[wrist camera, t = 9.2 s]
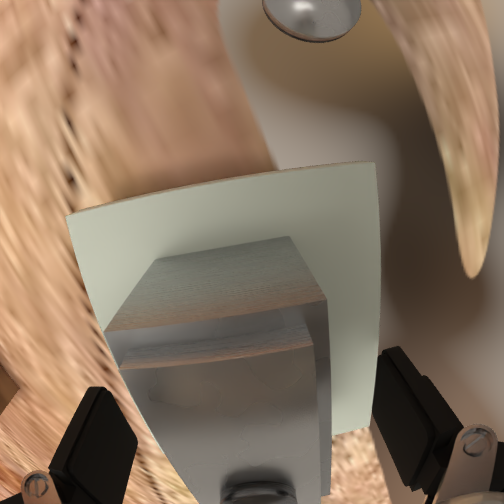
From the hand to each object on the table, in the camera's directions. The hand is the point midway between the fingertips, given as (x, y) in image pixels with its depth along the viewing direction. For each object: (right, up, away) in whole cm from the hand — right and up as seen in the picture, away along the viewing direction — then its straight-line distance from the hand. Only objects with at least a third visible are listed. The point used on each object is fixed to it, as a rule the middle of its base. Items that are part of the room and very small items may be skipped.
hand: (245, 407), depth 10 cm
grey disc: (+3, +18, +3) cm, 18 cm away
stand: (0, +2, +7) cm, 7 cm away
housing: (0, +1, +3) cm, 3 cm away
